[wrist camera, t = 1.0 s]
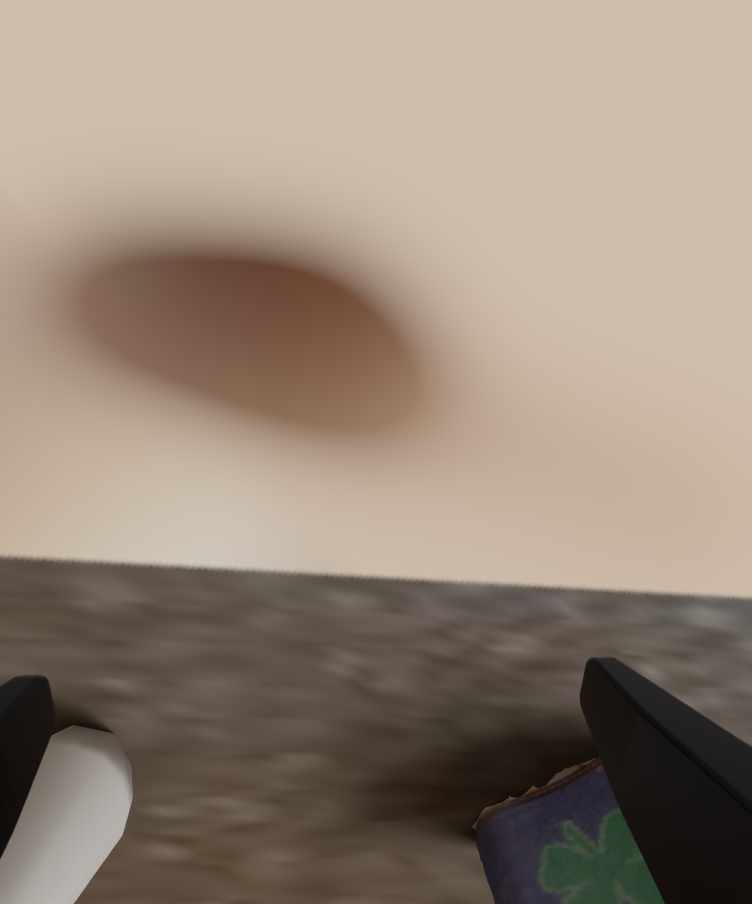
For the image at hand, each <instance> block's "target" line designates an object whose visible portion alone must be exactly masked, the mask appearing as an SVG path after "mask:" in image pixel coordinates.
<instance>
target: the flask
mask: <svg viewBox="0 0 752 904" xmlns="http://www.w3.org/2000/svg"><path fill="white" fill-rule="evenodd" d="M552 778H553V779H551V780H549V782H548V783H547V784H546V786H543V787H540V788H537V787H535V786H533V785H532V787H531V788H530V789H529V790H528V791H527V792H526V793H525V794H524V795H522V796H520V797H511V796H509V799H506V801H503V802H502V803H497V804H496V805H493V806H489V807H486V808H484V810H483V811H482V812H481V813H480V815H479V818H477V821H476V823H475V824H474V825H473V826H472V828H474V829H475V831H476V839H477V847H478V851H479V855H480V859H481V861H482V863H483V867H484V871H485V874H486V878H487V881H488V884H489V886H490V889H491V891H492V894H493V897H494V902H495V904H665V903H664V901H663V899H662V897H661V895H660V893H659V891H658V888H657V886H656V884H655V882H654V880H653V878H652V876H651V874H650V872H649V870H648V867H647V865H646V863H645V861H644V859H643V857H642V855H641V853H640V851H639V849H638V847H637V844H636V842H635V840H634V838H633V836H632V834H631V832H630V830H629V828H628V826H627V823H626V821H625V819H624V817H623V815H622V813H621V811H620V808H619V806H618V804H617V802H616V800H615V797H614V795H613V792H612V790H611V787H610V784H609V782H608V779H607V776H606V774H605V771H604V768H603V765H602V763H601V760H600V757H597V758H594V759H592V760H590V761H587V763H582V764H580V765H577V764H576V765H574V766H572V767H570V768H564V770H563V771H562V772H559V773H556V774H555V776H554V777H552Z"/></svg>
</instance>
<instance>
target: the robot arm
mask: <svg viewBox="0 0 752 904" xmlns="http://www.w3.org/2000/svg"><path fill="white" fill-rule="evenodd" d="M580 704H581V708H582V711H583V714H584V716H585V719H586V722H587V725H588V727H589V730H590V733H591V735H592V738H593V741H594V744H595V746H596V749H597V752H598V755H599V757H600V760H601V763H602V765H603V768H604V771H605V774H606V776H607V779H608V782H609V784H610V787H611V790H612V792H613V795H614V797H615V800H616V802H617V804H618V806H619V808H620V811H621V813H622V815H623V817H624V819H625V821H626V823H627V826H628V828H629V830H630V832H631V834H632V836H633V838H634V840H635V842H636V844H637V847H638V849H639V851H640V853H641V855H642V857H643V859H644V861H645V863H646V865H647V867H648V870H649V872H650V874H651V876H652V878H653V880H654V882H655V884H656V886H657V888H658V891H659V893H660V895H661V897H662V899H663V901H664V903H665V904H752V746H750V745H748V744H747V743H745V742H744V741H742V740H741V739H739V738H738V737H736V736H735V735H733V734H731V733H730V732H728V731H727V730H725V729H724V728H722V727H721V726H719V725H718V724H716V723H715V722H713V721H711V720H710V719H708V718H707V717H705V716H704V715H702V714H701V713H699V712H698V711H696V710H695V709H693V708H691V707H690V706H688V705H687V704H685V703H684V702H682V701H681V700H679V699H678V698H676V697H675V696H673V695H671V694H670V693H668V692H667V691H665V690H664V689H662V688H661V687H659V686H658V685H656V684H654V683H653V682H651V681H650V680H648V679H647V678H645V677H644V676H642V675H641V674H639V673H638V672H636V671H634V670H633V669H631V668H630V667H628V666H627V665H625V664H624V663H622V662H621V661H619V660H618V659H616V658H614V657H610V656H602V657H591V658H589V659H588V661H587V663H586V666H585V671H584V676H583V681H582V686H581V691H580ZM55 721H56V713H55V708H54V704H53V699H52V694H51V690H50V685H49V681H48V679H47V678H46V677H45V676H43V675H21V676H17V677H14V678H13V679H11V680H9V681H8V682H6V683H5V684H3V685H2V686H0V859H1V857H2V855H3V853H4V851H5V849H6V847H7V845H8V843H9V840H10V838H11V836H12V834H13V832H14V829H15V827H16V825H17V822H18V820H19V818H20V815H21V813H22V810H23V807H24V805H25V802H26V800H27V797H28V795H29V792H30V790H31V787H32V784H33V782H34V779H35V777H36V774H37V772H38V769H39V767H40V764H41V761H42V759H43V756H44V754H45V751H46V749H47V746H48V744H49V741H50V738H51V736H52V733H53V730H54V727H55Z"/></svg>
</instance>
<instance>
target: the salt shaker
mask: <svg viewBox="0 0 752 904" xmlns="http://www.w3.org/2000/svg"><path fill="white" fill-rule="evenodd" d="M132 799H133V792H132V766H131V764H130V762H129V760H128V758H127V757H126V755H125V753H124V751H123V749H122V747H121V746H120V744H119V742H118V740H117V738H116V736H115V735H114V733H110V732H105V731H100V730H95V729H90V728H85V727H81V726H76V725H72V726H70V727H68V728H66V729H64V730H62V731H60V732H58V733H55V734H53V735H52V736H51V738H50V741H49V744H48V746H47V749H46V751H45V754H44V756H43V759H42V761H41V764H40V767H39V769H38V772H37V774H36V777H35V779H34V782H33V784H32V787H31V790H30V792H29V795H28V797H27V800H26V802H25V805H24V807H23V810H22V813H21V815H20V818H19V820H18V822H17V825H16V827H15V829H14V832H13V834H12V836H11V838H10V840H9V843H8V845H7V847H6V849H5V851H4V853H3V855H2V857H1V859H0V904H74V902H75V901H76V900H77V898H78V897H79V895H80V894H81V892H82V891H83V890H84V888H85V887H86V885H87V884H88V883H89V881H90V880H91V878H92V877H93V876H94V874H95V873H96V871H97V870H98V869H99V867H100V866H101V864H102V863H103V862H104V860H105V859H106V857H107V856H108V855H109V853H110V852H111V850H112V849H113V848H114V846H115V845H116V843H117V842H118V841H119V839H120V838H121V836H122V835H123V831H124V828H125V824H126V821H127V817H128V814H129V810H130V806H131V803H132Z"/></svg>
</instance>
